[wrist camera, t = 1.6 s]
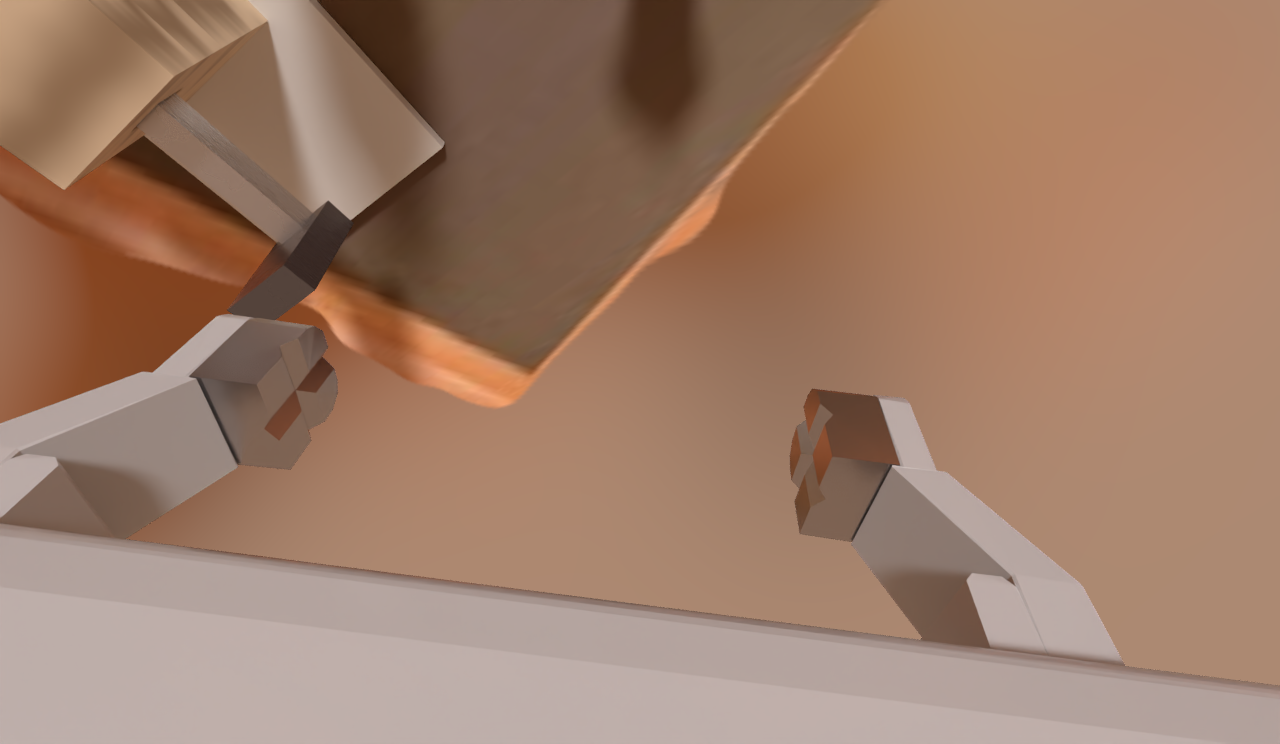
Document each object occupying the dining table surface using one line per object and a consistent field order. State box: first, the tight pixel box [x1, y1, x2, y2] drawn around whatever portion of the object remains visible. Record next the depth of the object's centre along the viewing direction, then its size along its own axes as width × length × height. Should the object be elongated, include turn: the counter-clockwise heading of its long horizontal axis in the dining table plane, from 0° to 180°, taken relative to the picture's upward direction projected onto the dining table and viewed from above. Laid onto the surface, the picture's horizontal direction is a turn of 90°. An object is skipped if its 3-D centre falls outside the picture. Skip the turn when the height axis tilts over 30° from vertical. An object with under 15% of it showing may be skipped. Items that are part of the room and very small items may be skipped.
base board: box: [144, 0, 445, 242], centre depth 39 cm, size 30×16×1 cm, turn 34°
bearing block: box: [0, 0, 268, 190], centre depth 34 cm, size 6×10×12 cm, turn 124°
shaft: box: [136, 93, 354, 320], centre depth 31 cm, size 24×5×8 cm, turn 34°
